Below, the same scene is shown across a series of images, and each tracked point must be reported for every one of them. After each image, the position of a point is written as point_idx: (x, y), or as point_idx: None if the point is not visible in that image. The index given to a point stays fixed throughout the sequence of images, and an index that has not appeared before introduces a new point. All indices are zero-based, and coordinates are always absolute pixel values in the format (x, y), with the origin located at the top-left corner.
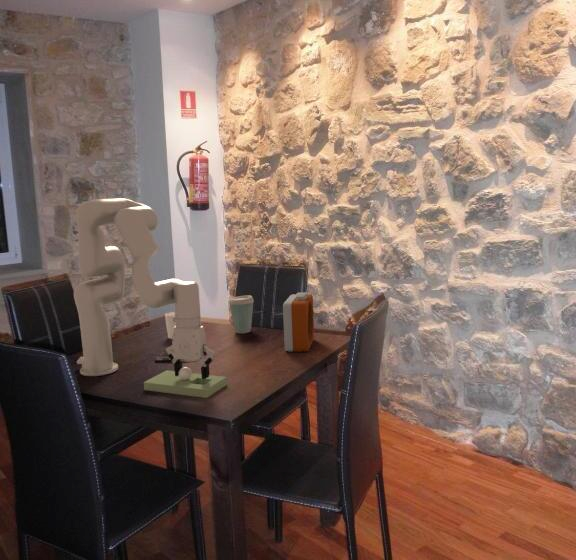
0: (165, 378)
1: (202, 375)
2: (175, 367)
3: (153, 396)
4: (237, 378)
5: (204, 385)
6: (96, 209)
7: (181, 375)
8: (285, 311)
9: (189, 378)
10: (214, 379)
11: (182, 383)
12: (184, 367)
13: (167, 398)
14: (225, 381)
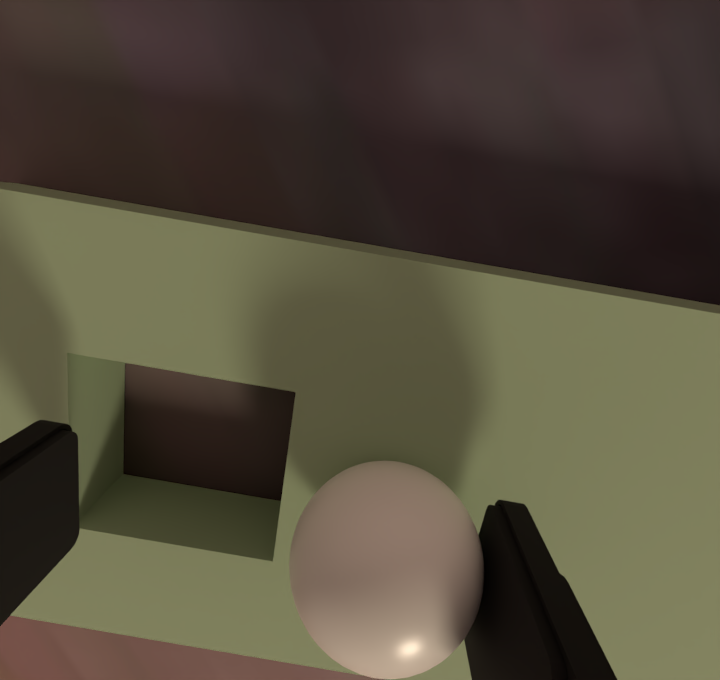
0: (663, 513)
1: (13, 446)
2: (555, 609)
3: (659, 137)
4: (37, 677)
5: (45, 335)
6: None
7: (405, 478)
8: None
9: None
10: None
11: (363, 369)
12: (386, 639)
13: (456, 98)
14: None
